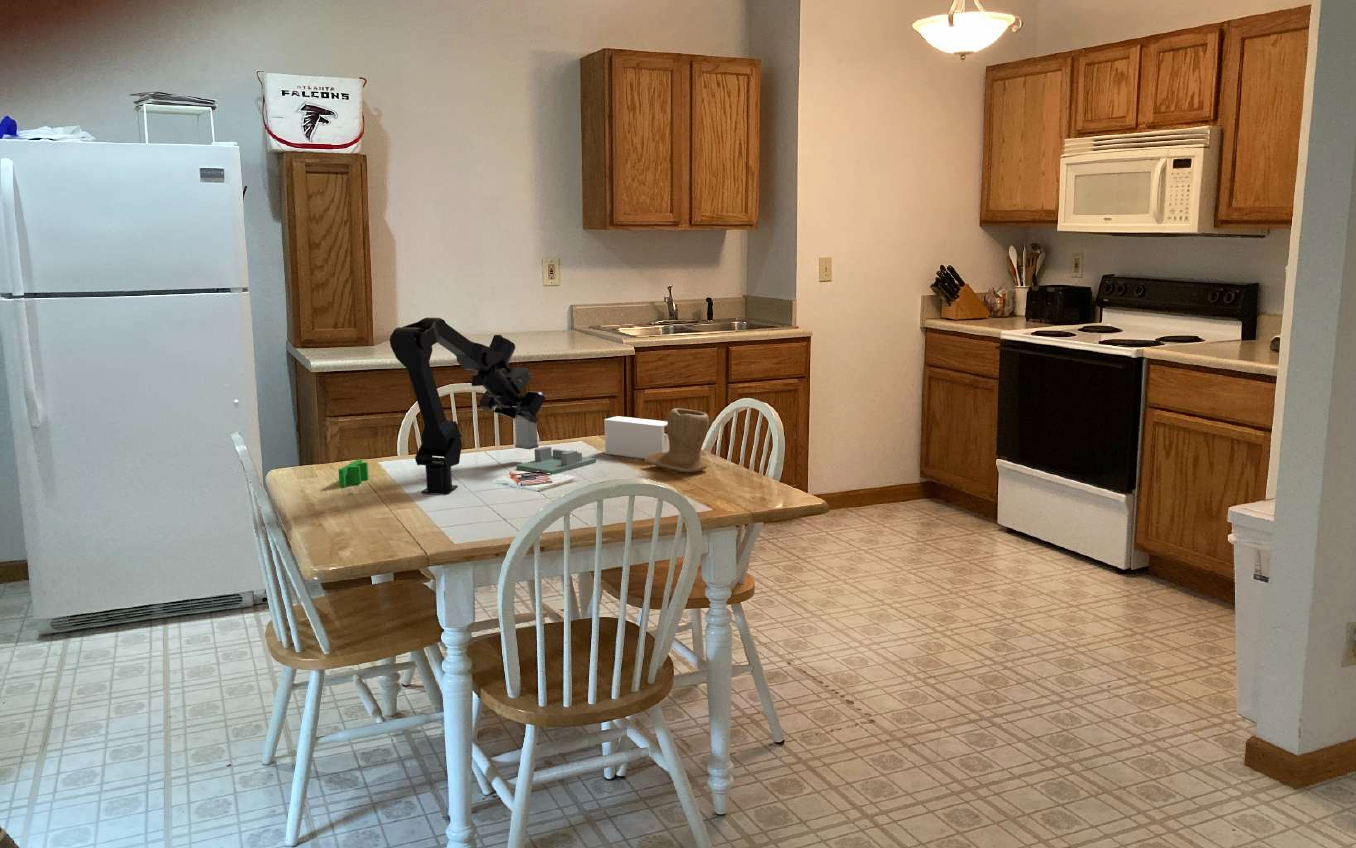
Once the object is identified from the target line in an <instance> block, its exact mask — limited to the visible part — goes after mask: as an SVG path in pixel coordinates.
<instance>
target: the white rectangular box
mask: <svg viewBox="0 0 1356 848" xmlns="http://www.w3.org/2000/svg"><path fill="white" fill-rule="evenodd" d="M603 421H604V425H603V426H604V447H605V449H604V450H605V452H604V453H605V455H612V456H620V457H626V458H633V459H642V460H645V458H646V457H647V456H649V455H651V454H653V453H657V452H668V451H669V438H668V434H665V427H667V421H666V420H658V419H657V420H656V419H646V418H637V417H629V416H619V415H616V416H612V417H608V418H605V419H603Z"/></svg>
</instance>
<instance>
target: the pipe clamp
mask: <svg viewBox="0 0 1356 848" xmlns="http://www.w3.org/2000/svg"><path fill="white" fill-rule="evenodd" d="M337 472H338V480H339V481H338V483H339V488H340V489H345V488H347V487H349V486H350V485H349V484H358V485H357V486H360V485H359V484H361V485H362V482H364V481H363V480H368V481H369V480H370V479H369V466H368V462H366V461H363V459H356V460H354V461H352V462H351V463H348V464H347V465H345V466H343V467H341V468H339V469H338V471H337ZM348 485H349V486H348Z"/></svg>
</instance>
